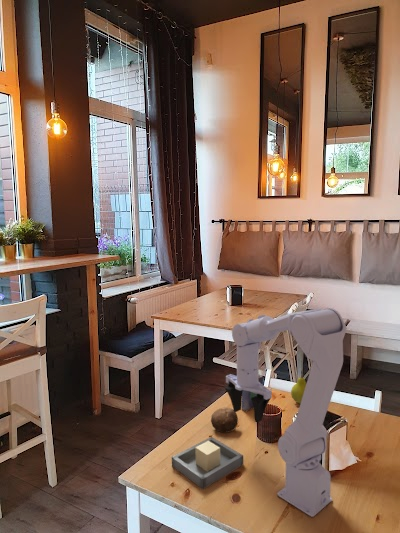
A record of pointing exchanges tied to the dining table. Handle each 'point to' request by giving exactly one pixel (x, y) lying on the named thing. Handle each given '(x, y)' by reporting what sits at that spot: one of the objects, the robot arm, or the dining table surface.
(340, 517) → the dining table surface
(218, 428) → the brown rough rounded lump
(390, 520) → the dining table surface
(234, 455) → the slate tray
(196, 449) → the cheese cube
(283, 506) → the dining table surface
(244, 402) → the flask
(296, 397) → the fruit
